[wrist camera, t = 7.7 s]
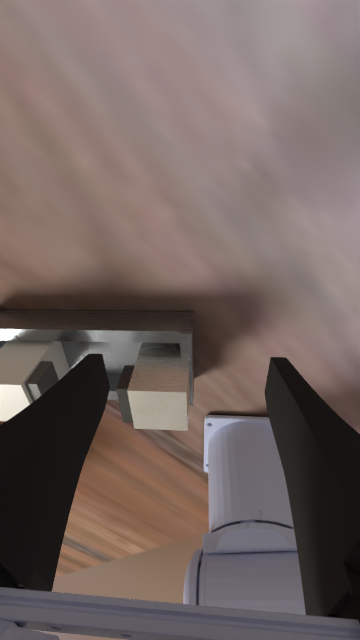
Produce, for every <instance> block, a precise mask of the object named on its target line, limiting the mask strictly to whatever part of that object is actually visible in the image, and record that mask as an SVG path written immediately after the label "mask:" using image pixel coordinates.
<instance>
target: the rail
mask: <svg viewBox="0 0 360 640" xmlns="http://www.w3.org/2000/svg"><path fill="white" fill-rule="evenodd" d="M8 340H20V341H61V344H62V347H63V350H64V353H65V357H66V360H67V363H68V366H69V371H70V370H71V369H72V368H73V367H74V366H76V365H77V364H78V363H79V362H80V361H81V360H82V359H83V358H84V357H85V356H86V355H88V354H102V355H103V359H104V363H105V368H106V372H107V376H108V380H109V385H110V390H109V394H108V398H107V400H119V404H120V409H121V414H122V418H123V422H129V423H133V424H134V428H137V429H160V430H184V431H188V416H189V405H193V391H194V331H193V311H93V310H0V349H1V348H2V346H3V345H4V344H5V343H6V342H7V341H8ZM69 371H68V372H69Z"/></svg>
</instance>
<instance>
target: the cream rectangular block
mask: <svg viewBox="0 0 360 640" xmlns="http://www.w3.org/2000/svg"><path fill="white" fill-rule="evenodd" d="M68 371H69V366H68V363H67V360H66V357H65V353H64V350H63V347H62V344H61V341H20V340H8V341H7V342H6V343H5V344H4V345H3V346H2V348H1V349H0V421H8V420H9V419H10V418H12V417H13V416H15V415H16V414H18V413H19V412H20V411H22V410H23V409H25V408H26V407H27V406H29V405H30V404H31V403H33V402H34V401H35V400H36V399H37V398H39V397H40V396H41V395H42V394H44V393H45V392H46V391H47V390H48V389H50V388H51V387H52V386H53V385H54V384H56V383H57V382H58V381H59V380H60V379H61V378H62V377H63V376H65V375H66V374H67V373H68Z"/></svg>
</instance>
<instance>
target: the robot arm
mask: <svg viewBox="0 0 360 640" xmlns="http://www.w3.org/2000/svg"><path fill="white" fill-rule="evenodd" d="M109 390H110V385H109V380H108V376H107V372H106V368H105V363H104V359H103V355H102V354H88V355H86V356H85V357H84V358H83V359H82V360H81V361H80V362H79V363H78V364H77V365H76V366H74V367H73V368H72V369H71V370H70V371H69V372H68V373H67V374H66V375H65V376H63V377H62V378H61V379H60V380H59V381H58V382H57V383H56V384H54V385H53V386H52V387H51V388H50V389H48V390H47V391H46V392H45V393H44V394H42V395H41V396H40V397H39V398H37V399H36V400H35V401H34V402H33V403H31V404H30V405H29V406H27V407H26V408H25V409H23V410H22V411H20V412H19V413H18V414H16V415H15V416H13V417H12V418H10V419H9V420H8V421H6V422H5V423H3V424H1V425H0V640H59V638H58V636H56V635H51V634H47V633H43V632H39V631H34V630H41V631H51V632H60V633H70V634H80V635H89V636H99V637H109V638H119V639H128V640H360V434H359V433H358V432H356V431H355V430H354V429H353V428H352V427H351V426H349V425H348V424H347V423H346V422H345V421H344V420H343V419H342V418H341V417H340V416H338V415H337V414H336V413H335V412H334V411H333V410H332V409H331V408H330V407H329V406H328V405H327V404H326V403H325V401H324V400H323V399H322V398H321V397H320V396H319V395H318V394H317V393H316V392H315V391H314V390H313V389H312V387H311V386H310V385H309V384H308V383H307V382H306V381H305V379H304V378H303V377H302V376H301V375H300V374H299V372H298V371H297V370H296V369H295V368H294V366H293V365H292V364H291V363H290V362H289V360H288V359H287V358H283V357H271V359H270V365H269V371H268V376H267V382H266V387H265V398H266V405H267V411H268V416H269V417H251V416H224V415H207V416H206V417H205V426H204V471H205V472H207V473H208V476H209V533H206V534H203V549H197V550H196V551H195V552H194V554H193V556H192V558H191V560H190V561H189V564H188V566H187V570H186V575H185V582H184V596H183V599H184V600H183V604H179V603H168V602H157V601H145V600H136V599H135V600H134V599H125V598H114V597H102V596H91V595H81V594H70V593H58V592H51V591H52V587H53V582H54V578H55V573H56V568H57V564H58V559H59V554H60V550H61V545H62V541H63V537H64V533H65V529H66V525H67V521H68V516H69V513H70V509H71V505H72V501H73V498H74V494H75V490H76V487H77V483H78V480H79V476H80V473H81V469H82V466H83V463H84V461H85V458H86V455H87V453H88V450H89V448H90V445H91V443H92V440H93V438H94V435H95V433H96V430H97V428H98V425H99V422H100V420H101V417H102V415H103V412H104V409H105V406H106V402H107V398H108V394H109ZM30 629H31V630H30Z"/></svg>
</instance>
